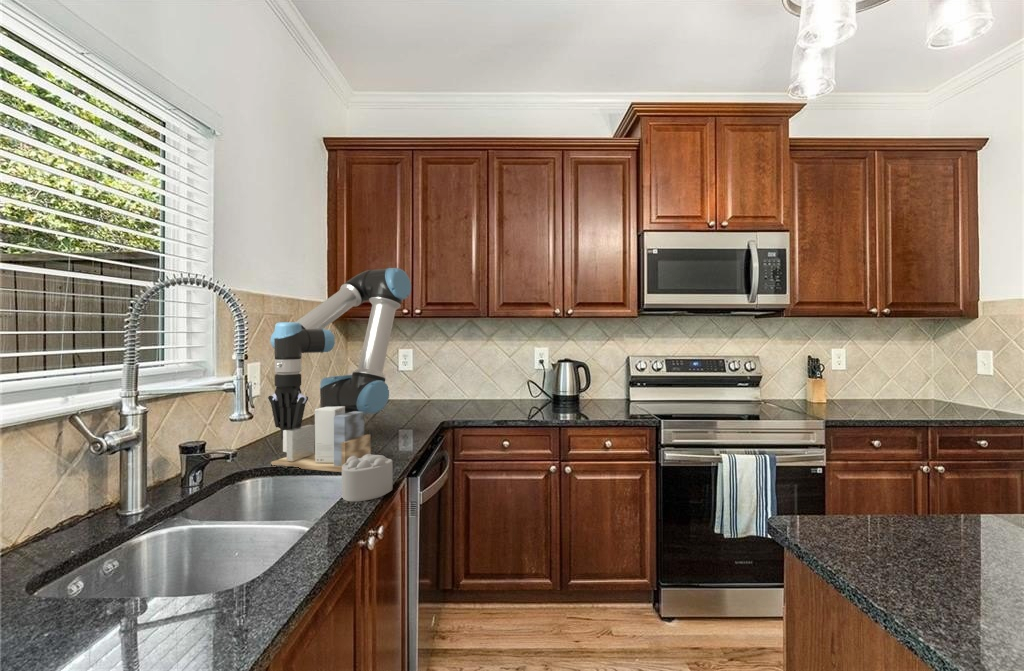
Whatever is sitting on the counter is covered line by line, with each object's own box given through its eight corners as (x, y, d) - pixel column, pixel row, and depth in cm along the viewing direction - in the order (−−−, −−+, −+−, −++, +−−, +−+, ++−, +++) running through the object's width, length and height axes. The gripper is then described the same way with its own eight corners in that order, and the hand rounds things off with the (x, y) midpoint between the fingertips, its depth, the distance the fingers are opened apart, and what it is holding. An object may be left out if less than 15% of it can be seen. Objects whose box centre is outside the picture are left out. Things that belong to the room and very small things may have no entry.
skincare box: (335, 463, 151) (335, 409, 151) (313, 463, 152) (312, 409, 152) (346, 457, 160) (346, 405, 160) (325, 456, 160) (325, 405, 160)
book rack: (300, 456, 166) (300, 407, 166) (370, 461, 159) (370, 411, 159) (270, 466, 154) (270, 414, 154) (345, 472, 147) (345, 417, 147)
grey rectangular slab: (309, 453, 164) (308, 424, 163) (314, 453, 163) (314, 424, 163) (286, 461, 154) (286, 430, 154) (292, 461, 153) (292, 430, 153)
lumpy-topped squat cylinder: (397, 487, 133) (397, 453, 133) (369, 503, 120) (369, 465, 120) (361, 484, 136) (361, 450, 136) (330, 499, 123) (330, 462, 123)
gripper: (261, 373, 158) (261, 452, 158) (297, 374, 154) (297, 455, 154) (279, 371, 165) (279, 447, 165) (314, 372, 161) (314, 449, 161)
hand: (288, 451), depth 160 cm, fingers closed
